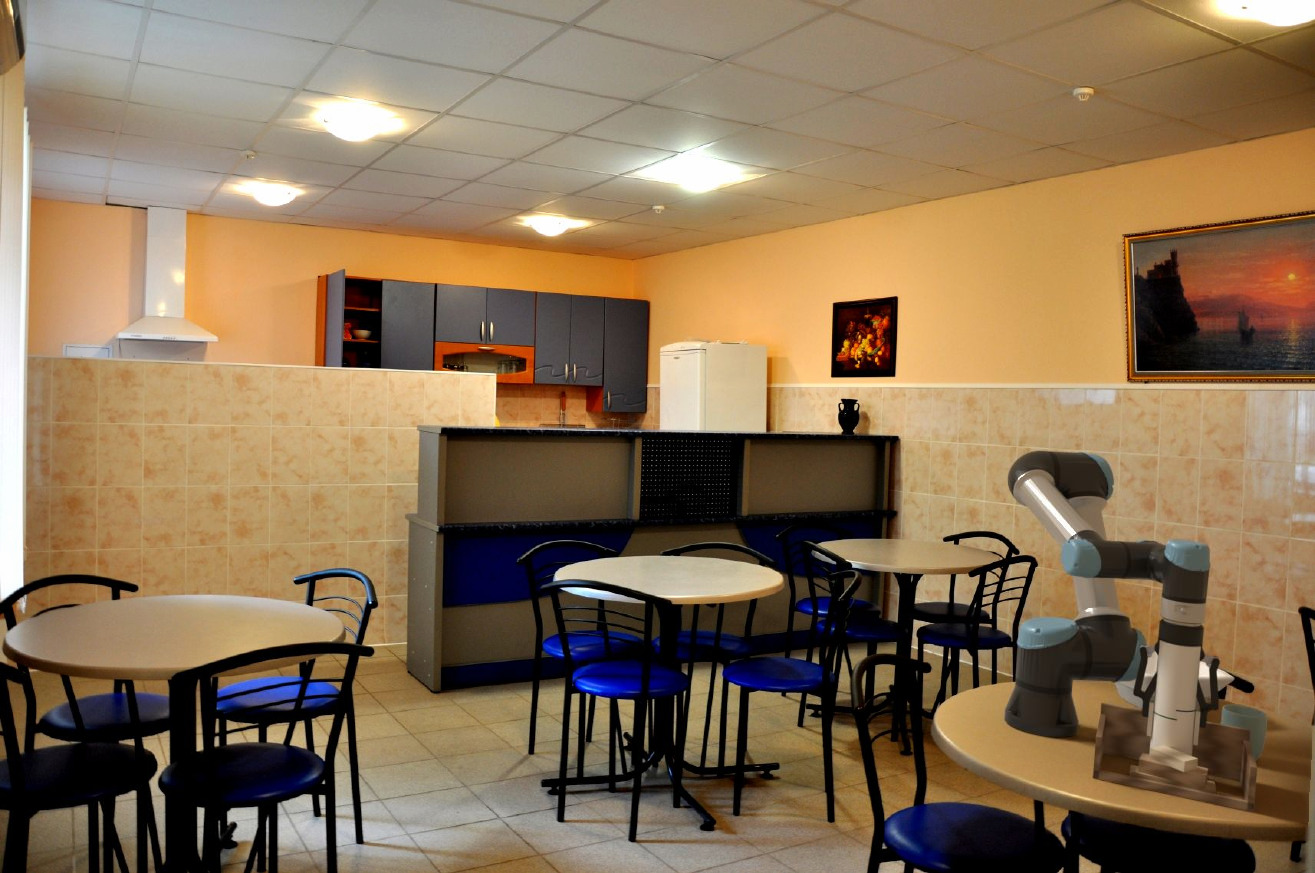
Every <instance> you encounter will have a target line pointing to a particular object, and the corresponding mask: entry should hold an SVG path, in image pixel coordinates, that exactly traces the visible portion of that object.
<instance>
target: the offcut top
mask: <svg viewBox="0 0 1315 873" xmlns="http://www.w3.org/2000/svg"><path fill="white" fill-rule="evenodd" d="M1149 758H1150V759H1153V760H1155V761H1158V762H1160V763H1163V764H1165V765H1168V766H1170V767H1172V768H1175V769H1177V770H1180V771H1182V772H1187V771H1191V770H1195V769H1197V764H1198V758H1195V757H1193V756H1190V755H1187V754H1185V753H1182V752H1180V751H1177V750H1175V749H1172V748H1169V747H1166V746H1162V745H1161V746H1156V747H1151V748H1150V753H1149Z"/></svg>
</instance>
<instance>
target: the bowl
mask: <svg viewBox="0 0 1315 873" xmlns="http://www.w3.org/2000/svg"><path fill="white" fill-rule="evenodd" d="M1157 659H1158V655H1157V653H1156V652H1153V653H1152V656H1151V657H1149V658H1148V662H1147V667H1146V671H1145V675H1144V680H1143V684H1142V688H1141V690H1143V691H1144V692H1145V690H1146V689H1147V687H1148V685H1149V683H1150V682H1151V680H1152V678H1153V676H1154V675H1155V673H1156V671H1157ZM1135 681H1136V679H1135V680H1133V681H1127V682H1116V683H1114V684H1115V686H1116V690H1117V692H1118V695H1119V697H1121V698H1122V699H1123V701H1126V702H1128V703H1129V704H1130V705H1133V706H1135V707H1136V708H1138V709H1140V710H1142V705H1143V700H1142V699H1141V698H1139V697H1137V696H1134V694H1133V690H1134V685H1135ZM1233 681H1235V677H1234V676H1232V674H1231V675H1230V674H1229V673H1228V672H1227V671H1224V670H1222V669H1220V668H1218V669H1217V683H1218V692H1219V691H1221V690H1223V689H1224V688H1225V687H1226V686H1228V685H1229V684H1230V683H1232V682H1233ZM1199 682H1200V685H1201V688H1202V691H1203V694H1204V697H1205V700H1206V703H1207V702H1208V701H1209V699H1211V695H1210V678H1209V667H1208V666H1207V665H1206V661H1203V660H1202V661H1201V662H1200V668H1199ZM1154 695H1155V692H1154V694H1153V696H1152V697H1151V699H1152V700H1154ZM1196 707H1197V708H1200V706H1199V703H1198V700H1197V703H1196Z"/></svg>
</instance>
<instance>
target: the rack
mask: <svg viewBox="0 0 1315 873" xmlns="http://www.w3.org/2000/svg"><path fill="white" fill-rule="evenodd" d="M1147 725H1148V718H1147V717H1143V716H1142V709H1141V708H1135V707H1129V706H1123V705H1117V704H1116V705H1115V704H1111V703H1106V702H1101V704H1100V714H1099V719H1098V724H1097V730H1096V734H1095V744H1094V745H1095V746H1094V757H1093V771H1092V772H1093V773H1092V778H1093V779H1097V780H1101V781H1105V782H1111V783H1115V784H1120V785H1125V786H1128V787H1129V786H1130V787H1135V788H1138V789H1143V790H1147V791H1153V792H1157V793H1162V794H1167V795H1171V796H1175V797H1181V798H1185V799H1190V800H1194V801H1199V802H1204V803H1209V804H1213V805H1216V806H1217V805H1219V806H1223V807H1226V808H1227V807H1228V808H1232V809H1238V810H1242V811H1245V812H1251V813H1254V811H1255V799H1256V790H1257V789H1256V788H1257V775H1258V766H1257V762H1256V761H1255V758H1254V755H1253V751H1252V748H1251V744H1250V729H1246V728H1240V727H1235V726H1229V725H1223V724H1221V723H1217V722H1216V723H1215V722H1212V721H1211V722H1210V721H1207V722H1206V727H1205V728H1201V727H1199V735H1198V746H1197V745H1193V748H1192V756H1193V757H1195V758H1198V764H1197V766H1199V767H1204V768H1208V775H1211V776H1214V777H1220V778H1225V779H1231V780H1236V781H1240V786H1241V791H1242V794H1243V799H1241V798H1237V797H1233V796H1227V795H1224V794H1223V795H1221V794H1217V793H1215V794H1213V793H1209V792H1204V791H1199V790H1194V789H1190V788H1185V787H1180V786H1175V785H1171V784H1166V783H1161V782H1156V781H1151V780H1147V779H1142V778H1137V777H1132V776H1130V775H1127V774H1122V773H1116V772H1114V771H1113V772H1112V771H1107V770H1103V769H1101V768H1102V761H1103V756H1104V754H1107V755H1111V756H1115V757H1116V756H1117V757H1121V758H1126V759H1131V760H1134V761H1135V760H1136V761H1139V758H1140V757H1141V755H1142V753H1145V754H1149V753H1150V742H1151V736H1147Z"/></svg>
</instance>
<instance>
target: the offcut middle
mask: <svg viewBox="0 0 1315 873" xmlns="http://www.w3.org/2000/svg"><path fill="white" fill-rule="evenodd" d="M1137 766H1138V772H1140V773H1144V774H1148V775H1153V776H1157V777H1161V778H1165V779H1169V780H1173V781H1177V782H1181V783H1185V784H1189V785H1193V786H1197V787H1201V788H1205V786H1206V784H1207V780H1208V775H1209V774H1208V768H1204V767H1199V766H1197V769H1195V770H1191V771H1187V772H1182V771H1180V770H1177V769H1175V768H1172V767H1170V766H1168V765H1165V764H1163V763H1160V762H1158V761H1155V760H1153V759H1150V758H1149V754H1145V753H1142V755H1141V757H1140V758H1139V760H1138V765H1137Z"/></svg>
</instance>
